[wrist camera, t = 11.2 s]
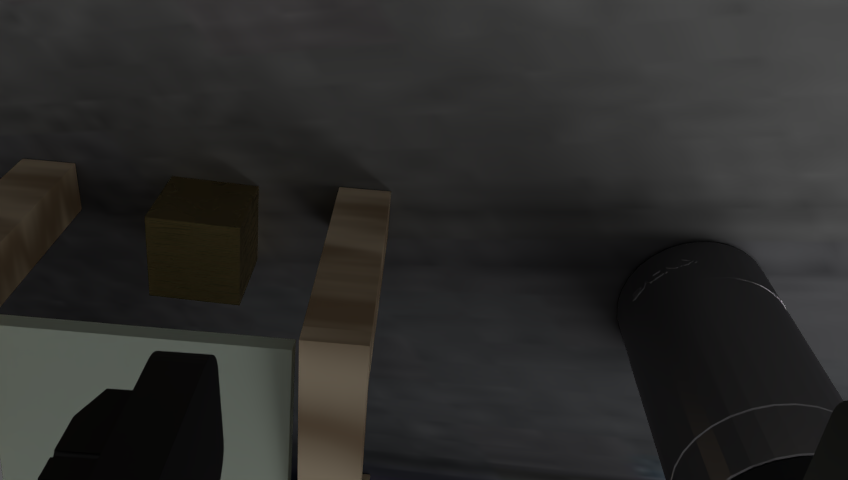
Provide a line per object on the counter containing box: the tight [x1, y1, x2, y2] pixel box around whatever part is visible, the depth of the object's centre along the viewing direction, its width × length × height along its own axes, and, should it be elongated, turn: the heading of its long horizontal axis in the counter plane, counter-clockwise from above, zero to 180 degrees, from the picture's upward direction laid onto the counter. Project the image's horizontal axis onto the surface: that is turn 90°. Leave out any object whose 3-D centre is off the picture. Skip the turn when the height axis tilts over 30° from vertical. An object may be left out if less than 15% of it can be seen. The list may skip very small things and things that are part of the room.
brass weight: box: [145, 176, 259, 305], centre depth 46 cm, size 5×5×5 cm
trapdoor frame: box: [0, 159, 391, 480], centre depth 47 cm, size 26×21×14 cm
